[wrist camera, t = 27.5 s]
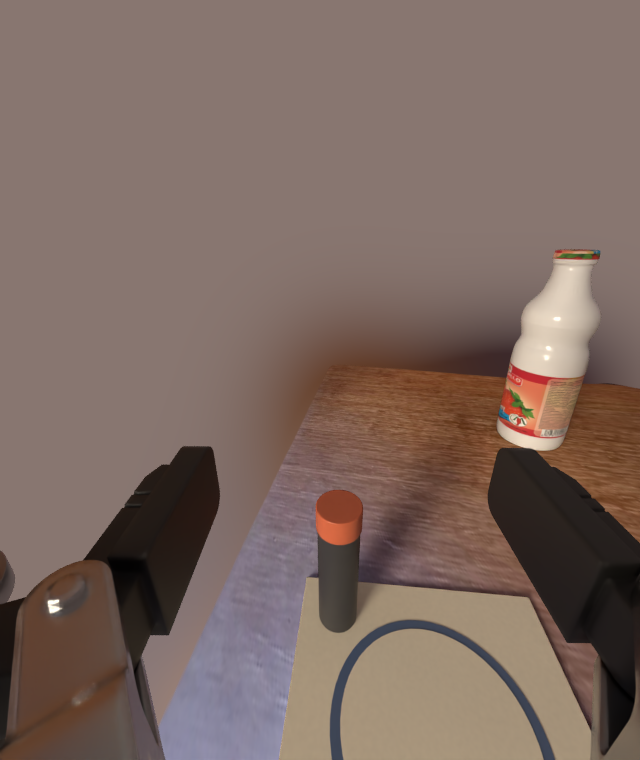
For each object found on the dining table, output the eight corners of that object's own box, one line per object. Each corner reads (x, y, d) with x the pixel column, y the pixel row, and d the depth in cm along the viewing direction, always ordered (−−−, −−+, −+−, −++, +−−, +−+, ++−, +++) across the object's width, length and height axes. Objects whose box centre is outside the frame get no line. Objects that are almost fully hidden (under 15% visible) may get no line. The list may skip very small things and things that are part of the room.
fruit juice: (567, 459, 49) (636, 252, 38) (494, 443, 53) (538, 251, 42) (557, 428, 57) (613, 248, 46) (495, 416, 60) (532, 248, 49)
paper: (238, 1026, 14) (237, 1024, 14) (306, 578, 32) (306, 576, 32) (785, 1154, 12) (790, 1154, 12) (528, 598, 30) (528, 596, 30)
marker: (315, 632, 28) (312, 522, 23) (320, 592, 31) (318, 487, 26) (357, 636, 27) (363, 525, 23) (357, 595, 30) (362, 490, 26)
